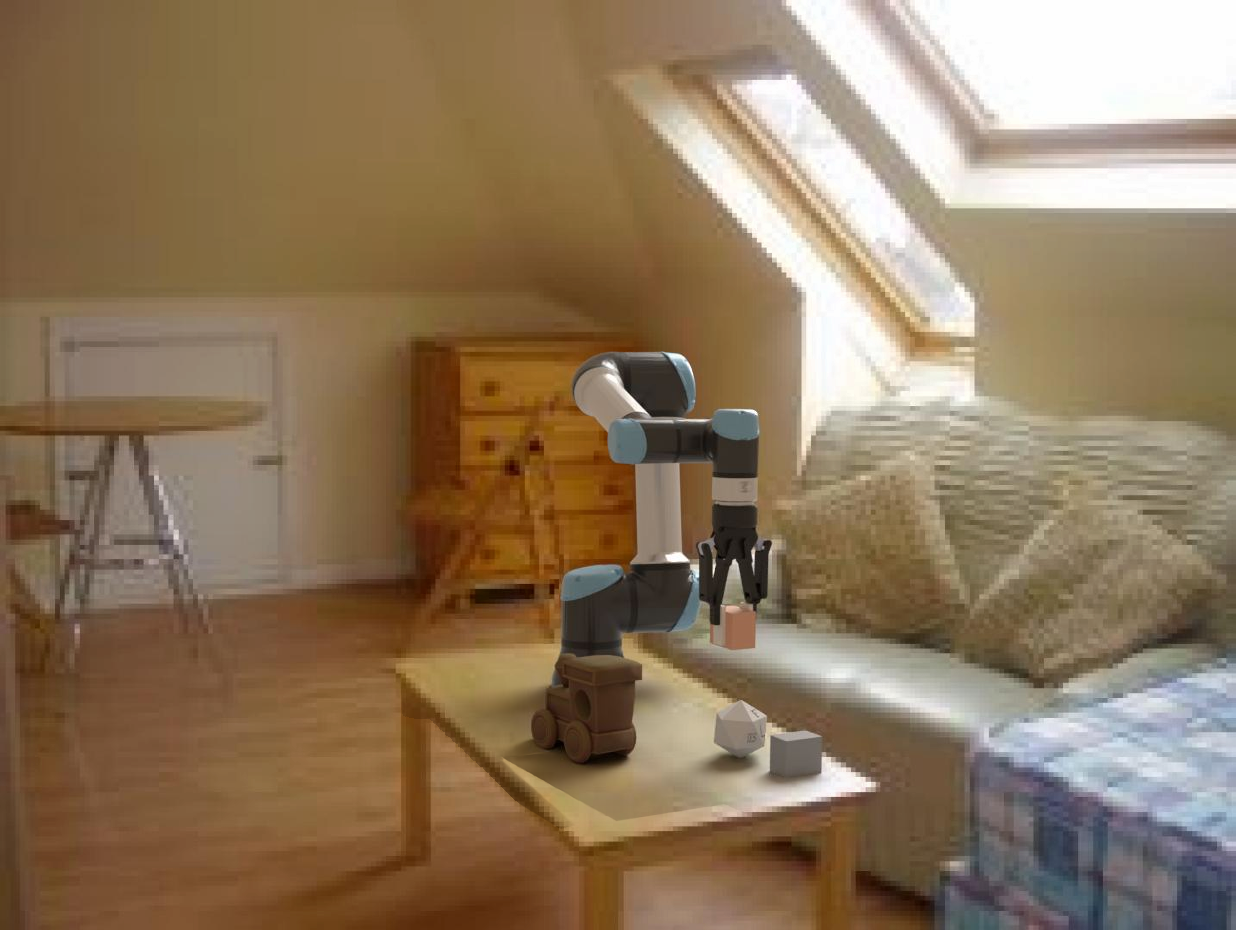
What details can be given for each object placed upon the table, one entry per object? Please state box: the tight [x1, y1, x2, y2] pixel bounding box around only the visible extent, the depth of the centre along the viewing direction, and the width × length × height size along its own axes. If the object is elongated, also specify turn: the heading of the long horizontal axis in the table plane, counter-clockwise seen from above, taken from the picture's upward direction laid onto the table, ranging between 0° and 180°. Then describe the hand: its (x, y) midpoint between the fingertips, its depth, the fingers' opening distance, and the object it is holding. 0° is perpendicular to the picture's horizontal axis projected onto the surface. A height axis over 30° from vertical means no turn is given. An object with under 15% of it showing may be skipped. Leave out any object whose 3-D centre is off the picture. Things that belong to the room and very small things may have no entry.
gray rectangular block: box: [769, 730, 823, 779], centre depth 243 cm, size 4×7×6 cm, turn 119°
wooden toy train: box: [530, 653, 643, 764], centre depth 254 cm, size 20×11×17 cm, turn 35°
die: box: [713, 699, 768, 759], centre depth 251 cm, size 8×9×10 cm
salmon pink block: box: [709, 605, 757, 651], centre depth 249 cm, size 7×4×6 cm, turn 27°
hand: (732, 642), depth 249 cm, fingers closed on salmon pink block, 4 cm apart
